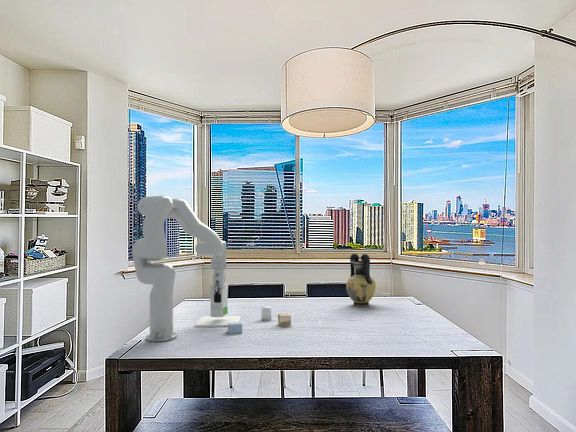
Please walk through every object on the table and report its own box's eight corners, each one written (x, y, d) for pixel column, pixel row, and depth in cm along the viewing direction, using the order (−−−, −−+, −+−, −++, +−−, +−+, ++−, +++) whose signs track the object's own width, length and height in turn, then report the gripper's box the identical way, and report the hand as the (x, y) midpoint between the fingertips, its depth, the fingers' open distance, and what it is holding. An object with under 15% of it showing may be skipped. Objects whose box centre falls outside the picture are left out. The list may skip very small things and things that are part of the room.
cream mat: (237, 326, 207) (237, 324, 207) (194, 326, 207) (194, 325, 207) (241, 317, 227) (241, 315, 227) (202, 317, 227) (202, 316, 227)
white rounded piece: (271, 320, 220) (271, 308, 220) (261, 320, 220) (261, 308, 220) (271, 318, 225) (271, 306, 225) (261, 318, 225) (261, 306, 225)
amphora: (340, 304, 260) (339, 253, 261) (358, 301, 271) (357, 252, 272) (364, 308, 247) (363, 255, 247) (382, 305, 258) (381, 253, 259)
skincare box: (222, 317, 213) (222, 285, 213) (209, 317, 214) (209, 285, 214) (228, 314, 221) (227, 282, 221) (215, 313, 222) (215, 282, 222)
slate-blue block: (242, 333, 195) (242, 323, 195) (228, 333, 194) (228, 324, 194) (241, 330, 199) (240, 322, 199) (227, 331, 198) (227, 322, 198)
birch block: (290, 325, 208) (290, 315, 208) (280, 326, 207) (280, 315, 207) (288, 323, 213) (287, 313, 213) (277, 324, 211) (277, 313, 211)
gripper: (223, 267, 209) (224, 303, 209) (228, 264, 226) (228, 297, 226) (208, 267, 209) (208, 304, 209) (213, 264, 226) (214, 297, 226)
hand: (218, 300), depth 217 cm, fingers closed on skincare box, 9 cm apart
